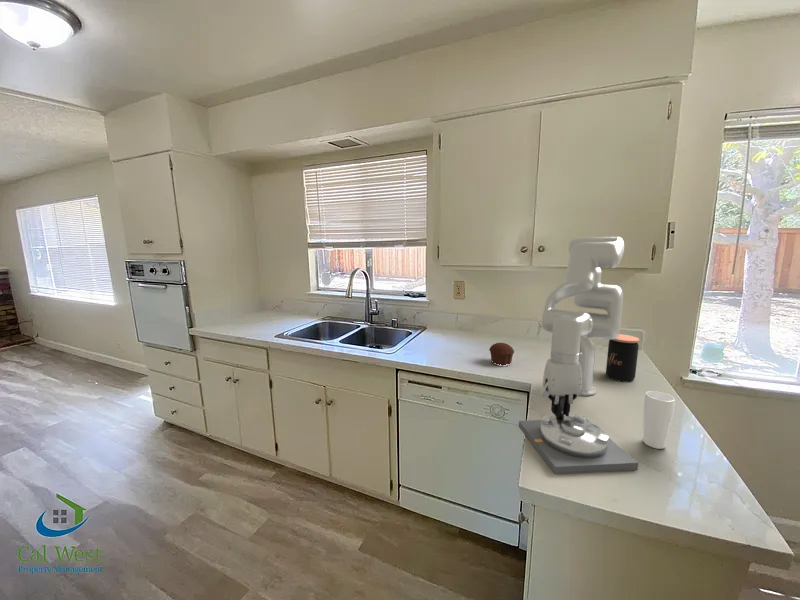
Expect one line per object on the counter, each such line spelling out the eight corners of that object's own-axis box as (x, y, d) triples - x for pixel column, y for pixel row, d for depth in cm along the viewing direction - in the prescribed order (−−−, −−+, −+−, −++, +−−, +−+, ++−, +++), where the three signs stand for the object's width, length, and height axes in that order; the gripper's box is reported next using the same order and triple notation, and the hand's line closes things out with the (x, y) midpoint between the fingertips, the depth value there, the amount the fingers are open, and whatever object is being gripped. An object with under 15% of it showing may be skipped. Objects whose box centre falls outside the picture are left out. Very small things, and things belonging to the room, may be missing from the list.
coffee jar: (600, 372, 149) (604, 333, 146) (625, 372, 148) (630, 334, 145) (613, 381, 138) (617, 340, 135) (640, 382, 137) (645, 341, 134)
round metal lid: (530, 423, 102) (531, 395, 101) (582, 421, 103) (585, 393, 102) (559, 458, 86) (562, 425, 84) (622, 455, 87) (625, 422, 85)
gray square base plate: (518, 426, 105) (519, 420, 105) (585, 423, 106) (585, 417, 106) (554, 473, 83) (555, 466, 83) (637, 469, 85) (638, 461, 84)
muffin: (516, 362, 162) (517, 342, 161) (510, 369, 153) (511, 348, 152) (492, 357, 169) (493, 339, 167) (485, 364, 160) (486, 344, 158)
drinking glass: (655, 437, 99) (661, 390, 96) (675, 451, 92) (682, 401, 89) (633, 437, 98) (639, 390, 96) (651, 451, 92) (658, 401, 89)
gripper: (582, 352, 102) (578, 407, 105) (532, 353, 101) (529, 409, 104) (598, 360, 94) (593, 419, 97) (544, 362, 93) (540, 421, 97)
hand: (560, 413), depth 101 cm, fingers closed on round metal lid, 2 cm apart
